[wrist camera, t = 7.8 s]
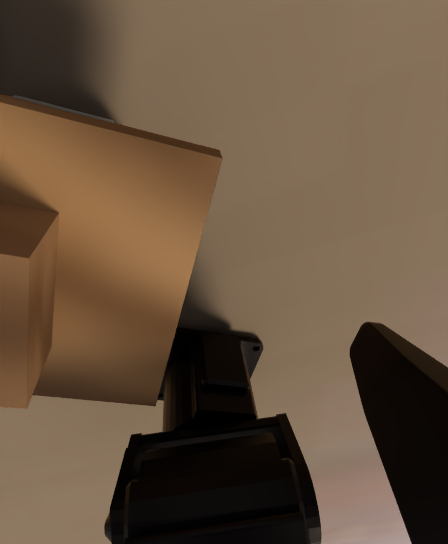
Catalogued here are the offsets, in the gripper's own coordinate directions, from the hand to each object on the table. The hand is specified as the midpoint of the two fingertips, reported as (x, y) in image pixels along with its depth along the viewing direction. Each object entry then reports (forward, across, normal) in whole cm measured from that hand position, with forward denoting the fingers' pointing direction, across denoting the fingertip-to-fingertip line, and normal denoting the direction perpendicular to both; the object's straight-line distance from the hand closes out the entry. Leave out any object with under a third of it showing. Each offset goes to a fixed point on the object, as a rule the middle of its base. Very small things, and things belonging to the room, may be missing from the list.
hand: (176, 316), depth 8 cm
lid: (+6, +5, +3) cm, 9 cm away
